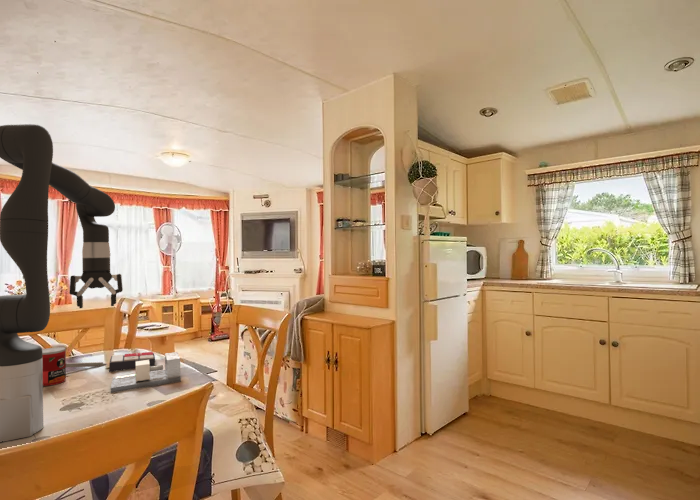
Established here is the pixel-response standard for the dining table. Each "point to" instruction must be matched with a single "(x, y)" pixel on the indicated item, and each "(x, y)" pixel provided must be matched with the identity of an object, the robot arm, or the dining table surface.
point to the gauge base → (151, 376)
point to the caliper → (85, 364)
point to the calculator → (129, 360)
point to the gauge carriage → (145, 370)
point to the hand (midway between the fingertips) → (97, 306)
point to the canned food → (54, 365)
